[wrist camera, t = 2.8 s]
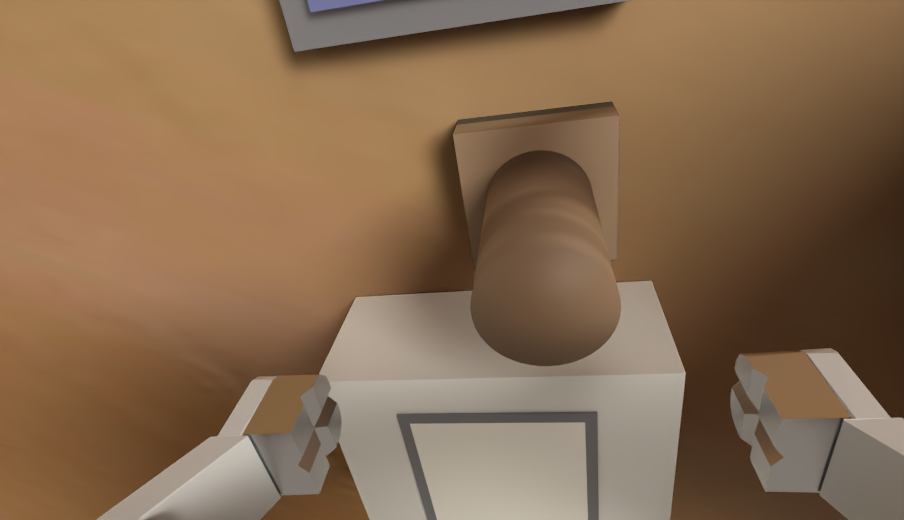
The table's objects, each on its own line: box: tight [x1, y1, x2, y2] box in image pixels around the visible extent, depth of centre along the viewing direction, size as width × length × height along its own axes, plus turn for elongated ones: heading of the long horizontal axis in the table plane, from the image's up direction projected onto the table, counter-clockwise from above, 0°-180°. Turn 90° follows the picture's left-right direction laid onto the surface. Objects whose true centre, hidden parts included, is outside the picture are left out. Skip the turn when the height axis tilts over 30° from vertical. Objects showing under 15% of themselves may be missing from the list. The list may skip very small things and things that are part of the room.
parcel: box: [319, 281, 686, 520], centre depth 21 cm, size 12×10×5 cm
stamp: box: [453, 102, 621, 366], centre depth 15 cm, size 5×5×8 cm
